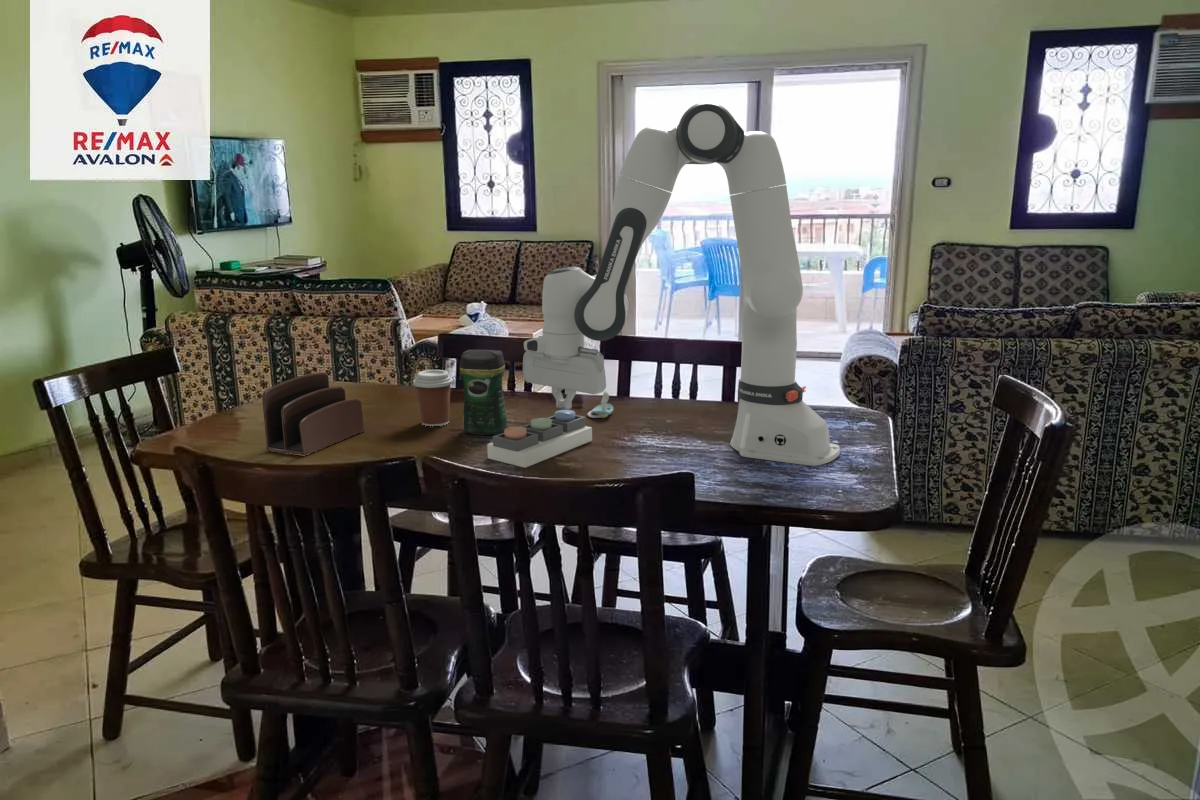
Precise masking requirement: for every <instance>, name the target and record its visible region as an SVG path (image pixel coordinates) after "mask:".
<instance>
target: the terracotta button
mask: <svg viewBox="0 0 1200 800" xmlns="http://www.w3.org/2000/svg"><path fill="white" fill-rule="evenodd" d="M503 433H504V437H505V438H507V439H512V440H520V439H523V438H525V437H527V435H526V428H524V427H522V426H509V427H508V426H507V428H506V429H504V432H503Z"/></svg>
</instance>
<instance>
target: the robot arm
mask: <svg viewBox="0 0 1200 800" xmlns="http://www.w3.org/2000/svg"><path fill="white" fill-rule="evenodd" d="M714 163H716V164H719V165H720V166H721V168H722V169H723V170H724V173H725V175H726V179H727V185H728V190H729V191H728V192H729V198H730V199H729V200H730V205H731V211H732V217H733V224H734V232H735V236H736V244H737V250H738V256H739V262H740V268H741V275H742V281H743V285H742V287H743V288H742V290H743V291H742V327H741V328H742V329H741V330H742V332H741V334H742V335H741V336H742V337H741V358H740V359H741V360H740V361H741V362H740V363H741V365H740V378H739V379H738V385H737V405H738V409H737V417H736V421H735V426H734V430H733V434H732V436H731V440H730V443H729V444H730V446H731V448H733V449H734V450H736V451H737V452H739V455H740V456H741V457H744V458H751V459H758V460H767V461H772V462H773V461H775V462H781V463H789V464H796V465H801V466H811V467H812V466H821V465H825V464H827V463H830V462H832V461H834V460H835V459H837V458H838V457H839V456H840V454H841V448H840V446H839V445H838V444H835V443H831V442H830V440H831V439H830V431H829V425H828V423H827V422H826V421H825V419H823V418H822V417H821V416H820V415H819V414H818V413H816V412H815V411H814V410H813V409H812V408H811V407H810V406H809V405H808V404H806V402H804V401H803V397H804V393H805V392H807V390H806V389H807V386H805V385H804V386H802V387H801V386H800V385H799V384H798V383H797V381H796V366H797V348H798V347H797V346H798V341H797V334H798V333H797V309H798V306H799V305H800V303H801V301H802V299H803V294H804V288H803V281H802V280H803V279H802V275H801V269H800V268H801V267H800V262H799V255H798V251H797V246H796V238H795V235H794V231H793V225H792V217H791V208H790V202H789V194H788V188H787V181H786V180H787V179H786V175H785V170H784V166H783V162H782V157H781V153H780V151H779V148H778V145H777V143H776V141H775V138H774V137H773V136H772V135H771V134H769V133H767V132H764V131H760V130H759V131H758V130H753V131H744V129H743V128H742V127H741V126H740V124H739V123H738V121H737V120H736V119H735V118H734V116H733V115H732V114H731V113H730V111H728V109H726V107H724V106H722V105H720V103H719V104H718V103H717V102H714V101H713V102H712V101H703V102H698V103H696V104H693V105H692V106H690V107H689V108H688V109H687V110H686V111H685V112H684V114H682V116H681V118H680V120H679V123H678V125H676V126H675V127H673V128H665V127H662V126H647V127H644V128H642V129H641V130H640V131H639V132H638V133H637V134H636V137H635V138H634V140H633V141H632V143H631V145H630V148H629V150H628V152H627V154H626V156H625V159H624V162H623V164H622V167H621V170H620V172H619V176H618V178H617V182H616V186H615V189H614V194H613V202H612V206H611V207H612V208H611V217H610V227H609V233H608V239H607V242H606V246H605V248H604V250H603V251H604V252H603V254H602V258H601V261H600V263H599V267H598V269H597V272H596V275H595V276H592V275H590V274H589V273H587V272H585V271H584V270H583V268H581V267H578V266H566V267H560V268H557V269H553V270H552V271H550V272H548V273H547V274H546V276H544V280H543V285H542V298H541V299H542V300H541V304H542V305H541V306H542V307H541V309H542V313H543V314H542V315H543V326H542V334H541V335H539V336H537V337H534V338H530V339H527V340H525V341H523V349H524V351H525V352H524V353H523V355H522V356H523V357H522V376H523V379H524V381H525V382H526V383H528V384H529V383H530V384H535V385H538V386H539V385H540V386H546V387H550V388H551V393H552V395H553V398H554V399H555V407H556V408H558V409H562V410H572V407H573V404H572V401H573V399H574V398H575V396H576V394H577V393H585V394H591V395H597V394H598V395H599V394H601V393H604V392H605V391H606V388H607V379H606V377H607V376H606V370H605V358H604V355H603V353H602V352H600V351H599V350H598V348H597V349H596V348H588V347H585V337H587V338H588V339H590V340H592V341H597V342H598V341H599V342H602V341H603V342H604V341H609V340H611V339H613V338H614V337H616V336H617V335H618V334H619V333H621V331H622V330H623V327H624V325H625V321H626V318H627V316H628V314H629V310H630V300H629V297H628V295H627V293H626V289H627V286H628V283H629V281H630V277H631V274H632V272H633V267H634V265H635V261H636V259H637V257H638V254H639V252H640V250H641V248H642V246H643V244H644V242H646V240H647V238H648V237H649V235H650V234H651V233H652V232H653V230H654V229H655V228H656V227H657V225H658V224H659V222H660V220H661V218H662V217H663V215H664V212H665V211H666V208H667V206H668V205H669V201H670V199H671V197H672V194H673V190H674V187H675V185H676V180H677V179H678V176H679V174H680V172H681V171H682V169H683V167H685V166H686V165H710V164H714ZM563 390H564V394H565V395H566V396H565V398H564V396H563V393H562V391H563Z"/></svg>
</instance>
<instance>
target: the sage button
mask: <svg viewBox="0 0 1200 800" xmlns="http://www.w3.org/2000/svg"><path fill="white" fill-rule="evenodd" d="M529 424H531V429H535V430H539V431H545V430H548V429H550V428H552V420H551V419H548V417H537V418H532V419H530V423H529Z"/></svg>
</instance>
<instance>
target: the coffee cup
mask: <svg viewBox="0 0 1200 800" xmlns="http://www.w3.org/2000/svg"><path fill="white" fill-rule="evenodd" d="M416 375H417V376H416V377H415V379H413V380H412V381H413V386H414V387H416V392H417V394H416V395H417V400H418V408H419V415H420V421H421V423H422V424H421V425H422V426H423V425H425V426H424V427H426V426H430V427H429V428H434V427H433V426H440V427H444V426H443V425H445V426H447V425H448V423H449V424H450V412H451V411H450V410H451V409H450V407H451V385H453V384H454V379H453V378H452V377H451V376H450V375H449V372H448V371H447V370H445V369H444V370H443V369H428V370H427V369H426V370H422V371H419V372H417V373H416ZM446 424H447V425H446ZM431 426H432V427H431Z"/></svg>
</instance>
